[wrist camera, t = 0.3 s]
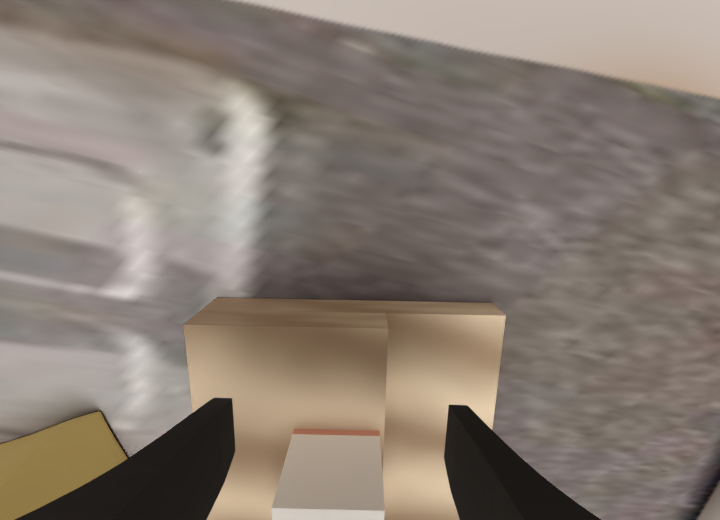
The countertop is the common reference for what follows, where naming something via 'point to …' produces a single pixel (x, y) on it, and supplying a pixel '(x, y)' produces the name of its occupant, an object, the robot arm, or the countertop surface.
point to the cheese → (54, 463)
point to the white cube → (331, 476)
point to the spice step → (344, 387)
